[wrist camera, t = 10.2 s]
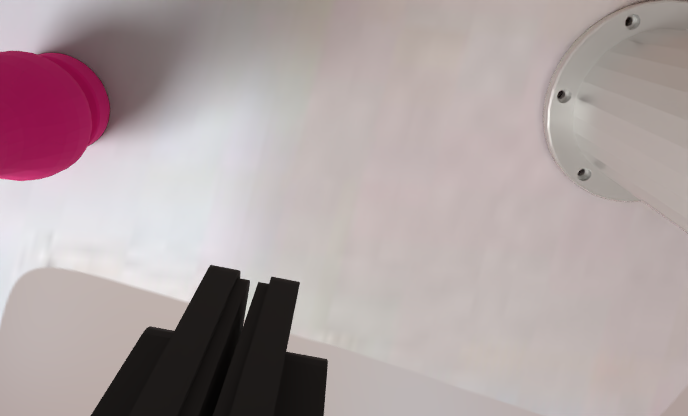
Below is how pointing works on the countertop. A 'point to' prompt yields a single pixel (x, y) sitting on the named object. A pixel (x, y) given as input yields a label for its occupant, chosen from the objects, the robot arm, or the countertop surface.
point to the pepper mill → (47, 113)
